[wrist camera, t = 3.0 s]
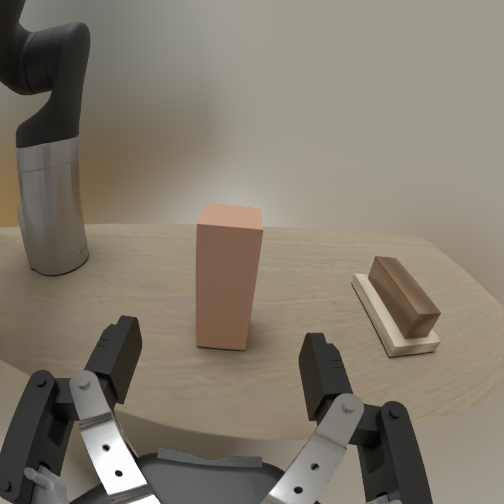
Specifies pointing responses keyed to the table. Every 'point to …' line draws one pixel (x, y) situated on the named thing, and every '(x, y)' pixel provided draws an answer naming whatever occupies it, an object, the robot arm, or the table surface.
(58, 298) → the table surface
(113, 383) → the robot arm
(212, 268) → the block
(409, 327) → the stand
